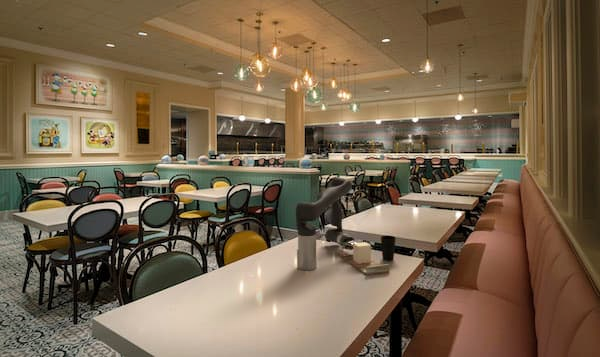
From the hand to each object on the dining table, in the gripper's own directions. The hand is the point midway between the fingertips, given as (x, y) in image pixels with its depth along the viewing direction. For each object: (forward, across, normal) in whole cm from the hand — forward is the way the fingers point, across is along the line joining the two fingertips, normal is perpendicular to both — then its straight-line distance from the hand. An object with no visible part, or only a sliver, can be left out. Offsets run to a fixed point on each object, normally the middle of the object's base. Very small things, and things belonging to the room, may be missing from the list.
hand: (359, 249), depth 183 cm
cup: (+2, +16, +7) cm, 17 cm away
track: (+5, 0, +6) cm, 8 cm away
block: (+3, 0, +5) cm, 6 cm away
